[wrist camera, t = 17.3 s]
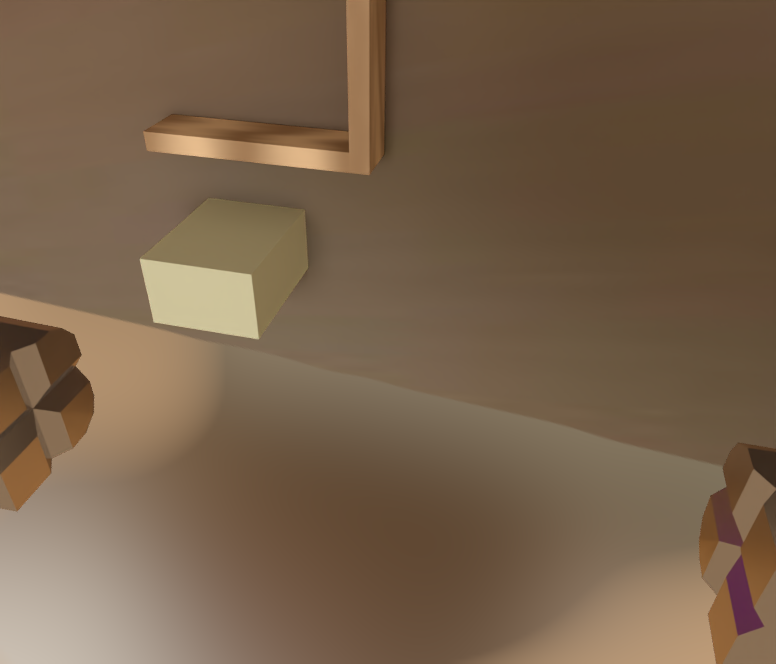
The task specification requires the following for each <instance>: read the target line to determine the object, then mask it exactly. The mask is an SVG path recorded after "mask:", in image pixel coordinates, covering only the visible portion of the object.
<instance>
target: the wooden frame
mask: <svg viewBox="0 0 776 664" xmlns="http://www.w3.org/2000/svg"><path fill="white" fill-rule="evenodd" d="M346 15H347V67H348V119H349V131H339V130H328V129H318V128H308V127H298V126H287V125H277V124H267V123H256V122H246V121H236V120H226V119H215V118H205V117H195V116H184V115H174V114H171V115H170V116H168V117H167V118H165V119H163V120H162V121H160V122H158V123H157V124H155V125H153V126H152V127H150V128H148V129H147V130H145V131H143V133H144V138H145V143H146V148H147V151H154V152H163V153H172V154H182V155H191V156H200V157H209V158H218V159H227V160H237V161H246V162H255V163H264V164H273V165H282V166H291V167H301V168H310V169H319V170H328V171H337V172H346V173H356V174H365V175H370V174H371V172H372V171H373V169H374V168H375V166H376V165H377V164H378V162H379V161H380V159H381V158H382V157H383V155H384V132H385V48H386V0H346Z"/></svg>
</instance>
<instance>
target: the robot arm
mask: <svg viewBox="0 0 776 664" xmlns="http://www.w3.org/2000/svg"><path fill="white" fill-rule="evenodd" d="M80 357H81V352H80V349H79V346H78V344H77V341H76V338H75V335H74V334H72V333H70V332H68V331H66V330H64V329H62V328H58V327H53V326H48V325H42V324H37V323H32V322H27V321H22V320H17V319H12V318H7V317H1V316H0V508H2V509H7V510H13V511H18V510H19V509H20V508H21V507H22V505H23V504H24V503H25V502H26V501H27V500H28V499H29V498H30V496H31V495H32V494H33V493H34V492H35V491H36V490H37V489H38V487H39V486H40V485H41V484H42V483H43V482H44V481H45V480H46V478H47V477H48V476H49V475H50V474H51V468H52V467H51V466H52V458H54V457H56V456H58V455H60V454H62V453H65V452H66V451H69V450H71V449H73V448H74V447H75V445H76V444H77V443H78V442H79V440H80V439H81V438H82V437H83V436H84V435H85V433H86V432H87V429H88V426H89V424H90V421H91V418H92V416H93V413H94V394H93V391H92V387H91V384H90V381H89V380H88V379H87V378H86V377H85V376H84V375H83V374H82V373H81V372H80V371H79V369H78V368H77V367H76V365H77V363H78V361H79V359H80ZM723 472H724V477H725V481H726V486H727V487H726V488H724V489H722V490H720V491H718V492H716V493H715V494H713V495H711V496H710V498H709V501H708V504H707V506H706V509H705V511H704V514H703V517H702V523H701V529H700V536H699V560H700V566H701V573H702V578H703V580H704V581H705V582H706V583H707V584H708V585H709V587H710V588H711V589H712V590H713V591H714V592H715V594H716V595H717V596H716V598H715V600H714V603H713V605H712V607H711V609H710V611H709V613H708V617H709V624H710V630H711V635H712V642H713V647H714V653H715V659H716V664H776V449H775V448H769V447H763V446H756V445H750V444H744V443H737V444H736V445H735V447H734V448H733V449H732V450H731V451H730V453H729V455H728V457H727V459H726V461H725V464H724V466H723Z"/></svg>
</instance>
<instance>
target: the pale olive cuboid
mask: <svg viewBox="0 0 776 664" xmlns="http://www.w3.org/2000/svg"><path fill="white" fill-rule="evenodd" d="M140 262H141V267H142V271H143V276H144V280H145V284H146V289H147V293H148V298H149V302H150V307H151V311H152V316H153V320H154V322H156V323H162V324H168V325H174V326H180V327H187V328H193V329H199V330H205V331H211V332H217V333H224V334H230V335H236V336H242V337H248V338H255V339H259V338H260V337H261V335H262V334H263V333H264V331H265V330H266V328H267V327H268V325H269V324H270V323H271V321H272V320H273V318H274V317H275V315H276V314H277V312H278V311H279V310H280V308H281V307H282V305H283V304H284V302H285V301H286V299H287V298H288V297H289V295H290V294H291V292H292V291H293V289H294V288H295V286H296V285H297V284H298V282H299V281H300V279H301V278H302V276H303V275H304V273H305V272H306V271H307V269H308V253H307V236H306V220H305V209H297V208H289V207H280V206H272V205H264V204H256V203H248V202H239V201H231V200H223V199H215V198H208V199H207V200H206V201H205V202H204V203H202V204H201V205H200V206H199V207H198V208H197V209H196V210H194V211H193V212H192V213H191V214H190V215H189V216H188V217H187V218H185V219H184V220H183V221H182V222H181V223H180V224H179V225H177V226H176V227H175V228H174V229H173V230H172V231H171V232H169V233H168V234H167V235H166V236H165V237H164V238H163V239H162V240H160V241H159V242H158V243H157V244H156V245H155V246H154V247H152V248H151V249H150V250H149V251H148V252H147V253H146V254H144V255H143V256H142V257H141V258H140Z"/></svg>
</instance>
